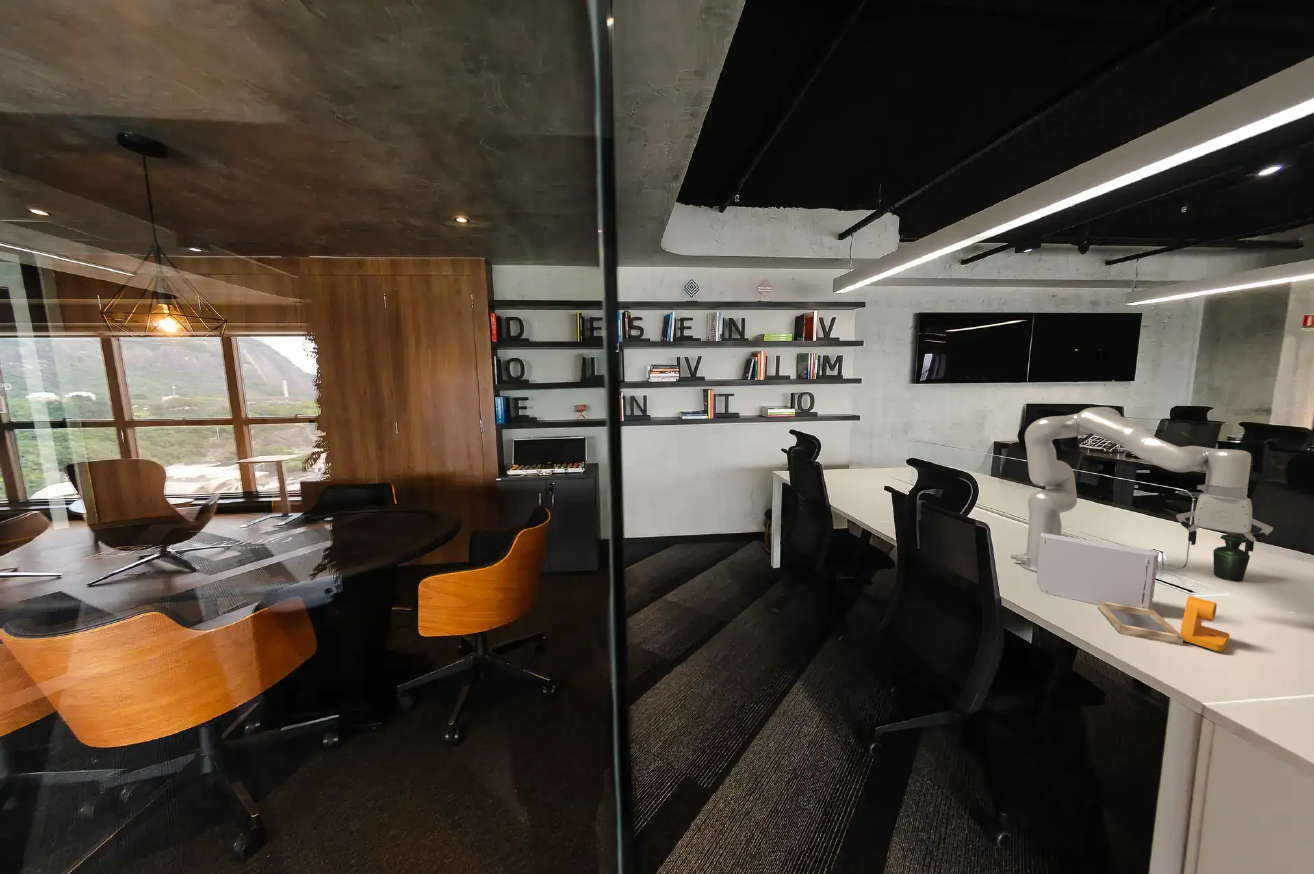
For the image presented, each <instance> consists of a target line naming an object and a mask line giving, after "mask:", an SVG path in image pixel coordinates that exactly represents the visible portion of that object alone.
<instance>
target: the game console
mask: <svg viewBox="0 0 1314 874" xmlns="http://www.w3.org/2000/svg"><path fill="white" fill-rule="evenodd" d="M1158 558H1159V554H1158V551H1157V550H1152V549H1145V548H1140V547H1139V548H1138V547H1132V546H1128V545H1120V544H1114V543H1108V542H1101V541H1094V540H1091V539H1090V540H1087V539H1083V538H1078V537H1077V538H1076V537H1070V536H1065V535H1061V536H1059V535H1053V534H1046V533H1041V536H1040V548H1039V559H1038V571H1037V572H1036V582H1035V583H1036V585H1037V587H1038V588H1039V589H1040V591H1042V592H1043V593H1044V594H1049V595H1053V596H1057V597H1062V598H1064V599H1065V598H1066V599H1072V600H1075V601H1079V602H1083V603H1088V604H1092V605H1096V606H1098V601H1102V602H1108V603H1114V604H1119V605H1125V606H1131V607H1137V608H1143V609H1149V610H1153V598H1154V595H1155V593H1154V592H1155V586H1156V577H1157V569H1158V564H1159V560H1158Z"/></svg>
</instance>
